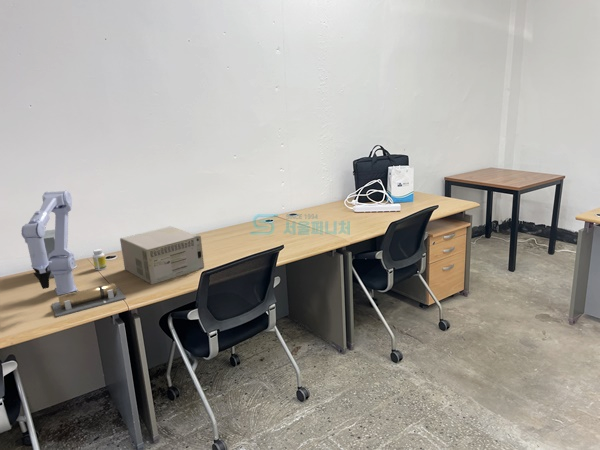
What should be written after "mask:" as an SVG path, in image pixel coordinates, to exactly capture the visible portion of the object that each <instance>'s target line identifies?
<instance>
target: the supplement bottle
mask: <svg viewBox="0 0 600 450" xmlns="http://www.w3.org/2000/svg"><path fill="white" fill-rule="evenodd" d="M106 260H107V259H106V256H105V253H103V249H102V248H97V249H96V248H95V249H94V250H93V255H92V261H93V265H94V270H95V271H103V270H106V269H107V267H108V266H107V262H106Z"/></svg>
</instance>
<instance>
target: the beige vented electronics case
mask: <svg viewBox="0 0 600 450" xmlns="http://www.w3.org/2000/svg"><path fill="white" fill-rule="evenodd" d="M119 241H120V247H121V248H120V249H121V254H122V260H123V265H124V266H123V267H124V270H125V271H127V272H129V273H130V274H133V275H134V276H135V277H138V278H139V279H140V280H143V281H144V282H146V283H148V284H150V285H155V284H158V283H161V282H164V281H167V280H171V279H174V278H177V277H180V276H183V275H187V274H189V273H192V272H196V271H199V270H201V269H204V268H205V263H204V262H205V260H204V254H203V246H202V236H201V235H198V234H195V233H192V232H189V231H186V230H183V229H180V228H177V227H174V226H171V225H170V226H166V227H162V228H156V229H153V230H149V231H145V232H141V233H136V234H131V235H128V236H123V237H120V238H119Z"/></svg>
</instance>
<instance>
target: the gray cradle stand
mask: <svg viewBox="0 0 600 450" xmlns="http://www.w3.org/2000/svg"><path fill="white" fill-rule="evenodd" d="M116 290H117V294H116V295H113V290H108V291H107V292H108V297H105V298H101V299H97V300H93V301H89V302H85V303H81V304H78V305H74V306H71V303H70V300H68V301H64V303H65V308H62V309H61V307H60V303H59V301H57V302H54V303H52V304H51V306H52V309H53V312H54V316H55V318H58V317H59V316H60V317H63V316H68V315H70V314H74V313H77V312H78V313H79V312H81V311H85V310H89V309H93V308H97V307H99V306H104V305H109V304H112V303H115V302H119V301H124V300H127V297H126V296H125V294H124V293H123V292H122V290H121V289H120V288H119V287H118V286H116ZM60 317H59V318H60Z"/></svg>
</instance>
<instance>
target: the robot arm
mask: <svg viewBox="0 0 600 450" xmlns="http://www.w3.org/2000/svg"><path fill="white" fill-rule="evenodd" d="M72 202H73V198H72V195H71V192H70V191H69V190H60V191H45V192H44V193H43V195H42V204H41V206H40V209H39V210H37V211H35V212H34V213H33V215H32V217H31V218H30V220H29V221H28V223H25V224H24V225H22V227H21V237H22V238H23V239H24V243H25V244H27V249H28V252H29V258H30V262H31V268H32V270H34V272H33V274H34V277H36V279H37V280H38V281H39V283H40V284H39V285H40V286H41V289H42V290H43V289H48V288H49V287H50V278H49V276H50V273H52V274H54V277H53V279H54V284H55V287H54V291H55V293H56V296H62V295H66V294H70V293H75V292H78V288H77V285H76V284H75V280H74V279H75V278H74V274H73V270H74V269H75V267H76V260H75V254H74V252H72V251H70V250H69V249H68V245H69V244H68V241H69V240H68V238H69V237H68V235H69V212H71V211H72V207H73V206H72ZM51 213H54V215H55V221H54V230H55V248H54V250H53V251H52V252H51V253H50V254H49V256H48V258H47V253H46V248H45V243H44V238H43V236H44V235H45V231H46V226H47V224H48V223H49V220H50V214H51ZM47 269H48V270H49V271H47Z"/></svg>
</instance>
